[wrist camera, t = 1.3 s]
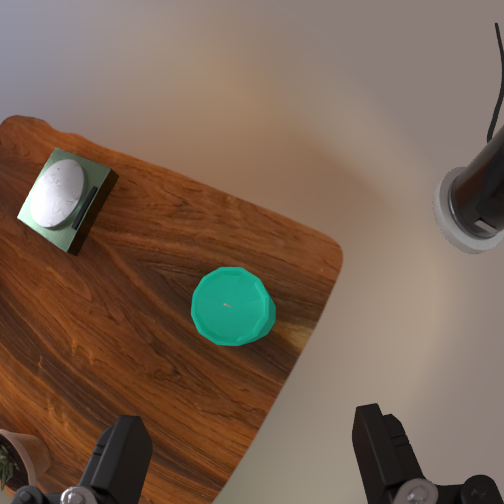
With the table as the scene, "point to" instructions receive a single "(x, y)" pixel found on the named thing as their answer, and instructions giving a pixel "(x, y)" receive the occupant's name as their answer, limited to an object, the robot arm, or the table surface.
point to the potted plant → (22, 460)
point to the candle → (232, 307)
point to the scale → (67, 199)
